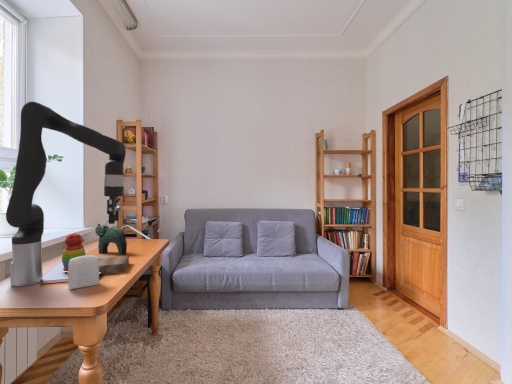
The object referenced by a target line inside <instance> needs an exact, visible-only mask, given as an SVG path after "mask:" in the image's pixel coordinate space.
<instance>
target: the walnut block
mask: <svg viewBox="0 0 512 384" xmlns="http://www.w3.org/2000/svg"><path fill="white" fill-rule="evenodd" d="M129 257H130V255H120V256H112V257H101V258H99V257H97V258H98V261H99V272H101V275H109V274H118V273H119V274H121V273H125V270H126V269H127V268H128V265H129V264H130V258H129Z"/></svg>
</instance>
